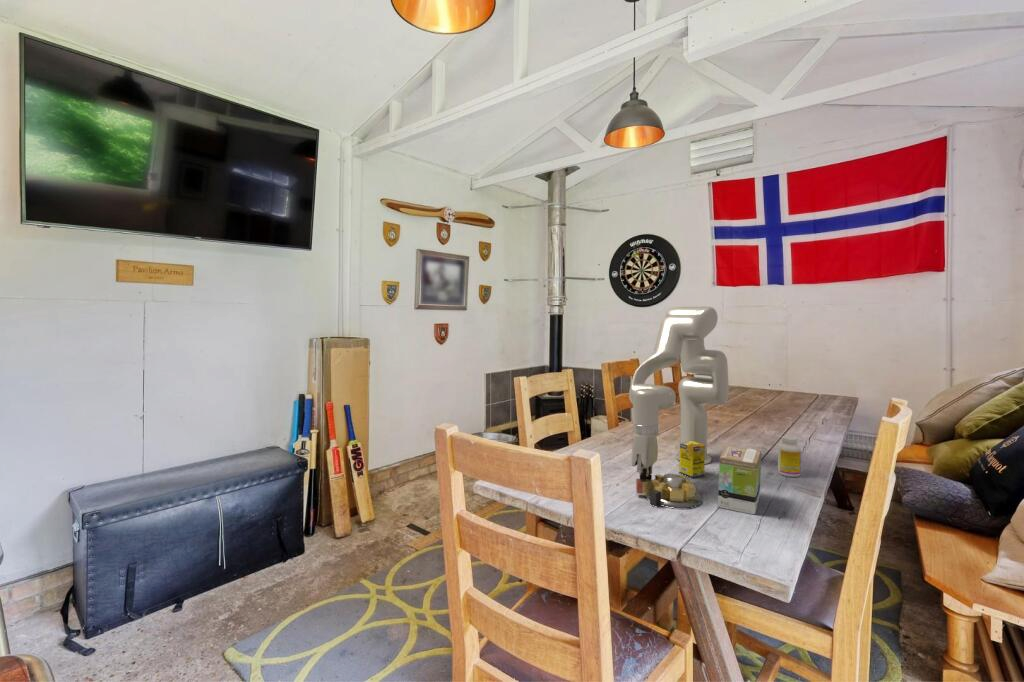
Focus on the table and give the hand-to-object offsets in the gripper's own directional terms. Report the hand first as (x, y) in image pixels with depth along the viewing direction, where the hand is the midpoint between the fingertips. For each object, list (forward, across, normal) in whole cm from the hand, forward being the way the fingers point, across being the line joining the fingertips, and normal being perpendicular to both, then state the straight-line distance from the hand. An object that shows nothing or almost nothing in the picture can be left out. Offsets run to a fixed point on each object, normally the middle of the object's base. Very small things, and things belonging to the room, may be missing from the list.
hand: (645, 486), depth 143 cm
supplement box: (+3, -25, +6) cm, 26 cm away
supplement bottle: (+3, -46, +32) cm, 56 cm away
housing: (+2, 0, +8) cm, 8 cm away
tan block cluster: (0, +1, +6) cm, 6 cm away
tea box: (+2, -9, +25) cm, 27 cm away
